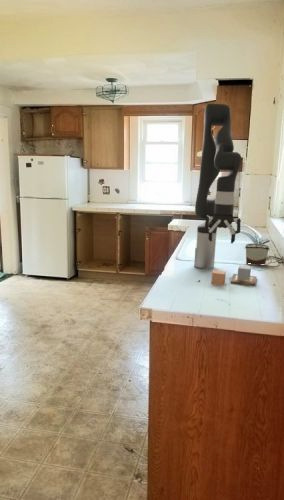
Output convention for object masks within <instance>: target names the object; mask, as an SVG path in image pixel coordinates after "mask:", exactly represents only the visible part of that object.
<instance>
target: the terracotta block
mask: <svg viewBox="0 0 284 500" xmlns="http://www.w3.org/2000/svg"><path fill="white" fill-rule="evenodd" d="M210 282H211V284H210V285H216V286H224V285H225V282H226V271H225V270H219V269H218V270H217V269H213V270H212V273H211V280H210Z"/></svg>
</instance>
